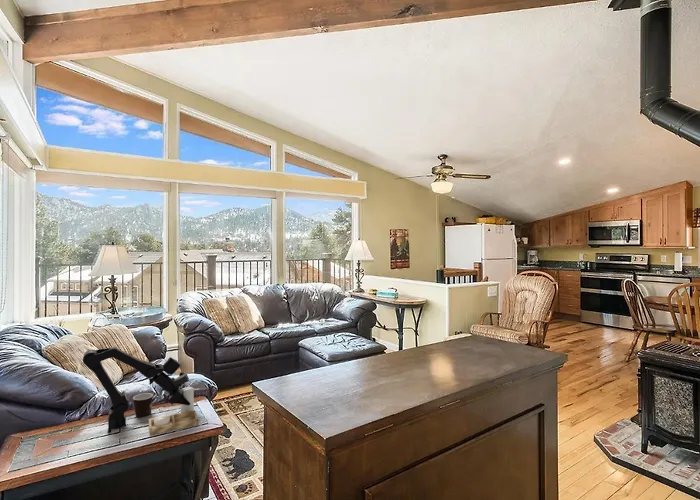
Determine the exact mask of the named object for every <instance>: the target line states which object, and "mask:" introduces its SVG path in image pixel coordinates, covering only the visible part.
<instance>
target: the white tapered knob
mask: <svg viewBox="0 0 700 500" xmlns="http://www.w3.org/2000/svg"><path fill="white" fill-rule="evenodd" d="M181 391H182V392H184V397H185V398H186V399H187V400H188V401H189V402H190V405H183V404H180V413H183V412H188V411H193V410H195V401H194V400H195V399H194V398H195V397H194V394H195V393H194V387H192V386H187V387H186V386H185V388H182V389H181Z"/></svg>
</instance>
